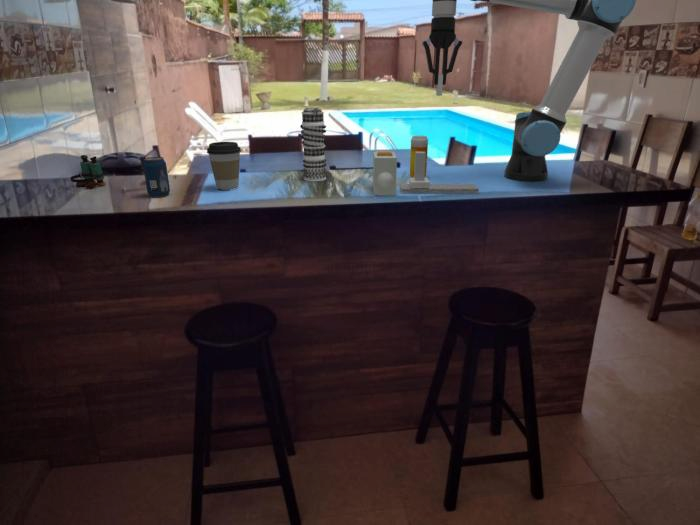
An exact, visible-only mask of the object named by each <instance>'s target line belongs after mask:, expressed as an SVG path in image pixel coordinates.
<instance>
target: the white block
mask: <svg viewBox="0 0 700 525" xmlns="http://www.w3.org/2000/svg"><path fill="white" fill-rule="evenodd" d="M372 154H373V155H372V156H373V160H372V161H373V162H372V163H373V164H372V165H373V167H372V173H373V174H372V189H373V190H372V191H373V196H374V195H378V196H397V172H398V171H397V169H398V168H397V166H398V164H397V163H398V158H397V155H396V153H395V151H391V156H378V151H373V153H372Z"/></svg>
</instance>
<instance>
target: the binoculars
mask: <svg viewBox="0 0 700 525" xmlns="http://www.w3.org/2000/svg"><path fill="white" fill-rule="evenodd" d="M80 159H81V160H82V161H81V162H80V164H79V165H80V168H81V172H78V174H75V175H72V176H70V181H71V182H72V183H75V185H76V188H77V187H84V188H86V190H90V189H93V188H95V187H97V186H99V187H103V186H106V182H105V181H104V179H105V177H104V176H105V175H104V172H103V170H102V167H101V164H100V162H99V161H97V159H98V158H97V156H92V157H88V155H87V154H82V155H80ZM88 159H90V160H88ZM78 178H79V179H78Z"/></svg>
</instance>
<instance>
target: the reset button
mask: <svg viewBox="0 0 700 525" xmlns="http://www.w3.org/2000/svg"><path fill="white" fill-rule="evenodd" d="M377 152H378V156H391V152H392V151H391V150H380V149H379V150H378V151H377Z"/></svg>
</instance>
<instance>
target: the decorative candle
mask: <svg viewBox="0 0 700 525" xmlns="http://www.w3.org/2000/svg"><path fill="white" fill-rule="evenodd" d="M301 114H302V115H301V116H302V117H301V119H302V121H301V124H300V126H299V127H300V129H302V130H300V134H301V136H300V138H301V139H302V141H301V144H302V148H303V160H302V162H303V165H302V167H304V168H303V169H302V172H303V174H302V176H303V180H304V181H306V182H322V181H325V180H327V177H326V176H327V164H326V161H327V159H326V154H325V148H326V144H325V143H326V142H327V140H325V139H326V138H327V135H325V133H327V130H325V129H326V128H327V125H325V121H324V119H325V118H324V114H325V111H323V110H322V108H320V107H307V108H304V109H303V111H302V112H301Z"/></svg>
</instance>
